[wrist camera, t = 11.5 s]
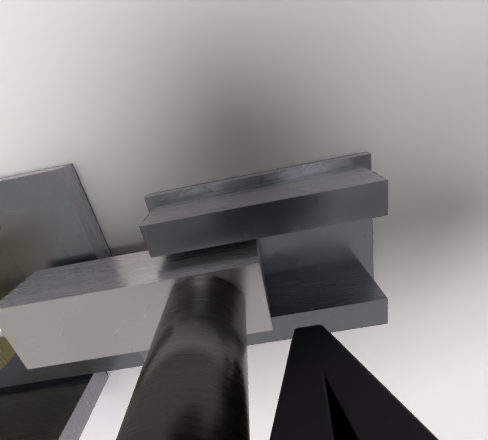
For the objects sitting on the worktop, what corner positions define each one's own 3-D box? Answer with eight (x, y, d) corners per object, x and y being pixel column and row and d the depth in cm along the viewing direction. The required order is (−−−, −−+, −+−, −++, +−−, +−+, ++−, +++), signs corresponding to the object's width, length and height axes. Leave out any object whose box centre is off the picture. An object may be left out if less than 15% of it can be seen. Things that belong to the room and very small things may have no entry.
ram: (255, 230, 11) (277, 417, 4) (266, 287, 12) (298, 505, 6) (-33, 283, 12) (-368, 508, 5) (1, 332, 13) (-244, 571, 6)
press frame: (365, 103, 11) (503, 106, 5) (371, 335, 15) (449, 474, 9) (-212, 222, 12) (-595, 325, 7) (-52, 401, 16) (-200, 554, 11)
